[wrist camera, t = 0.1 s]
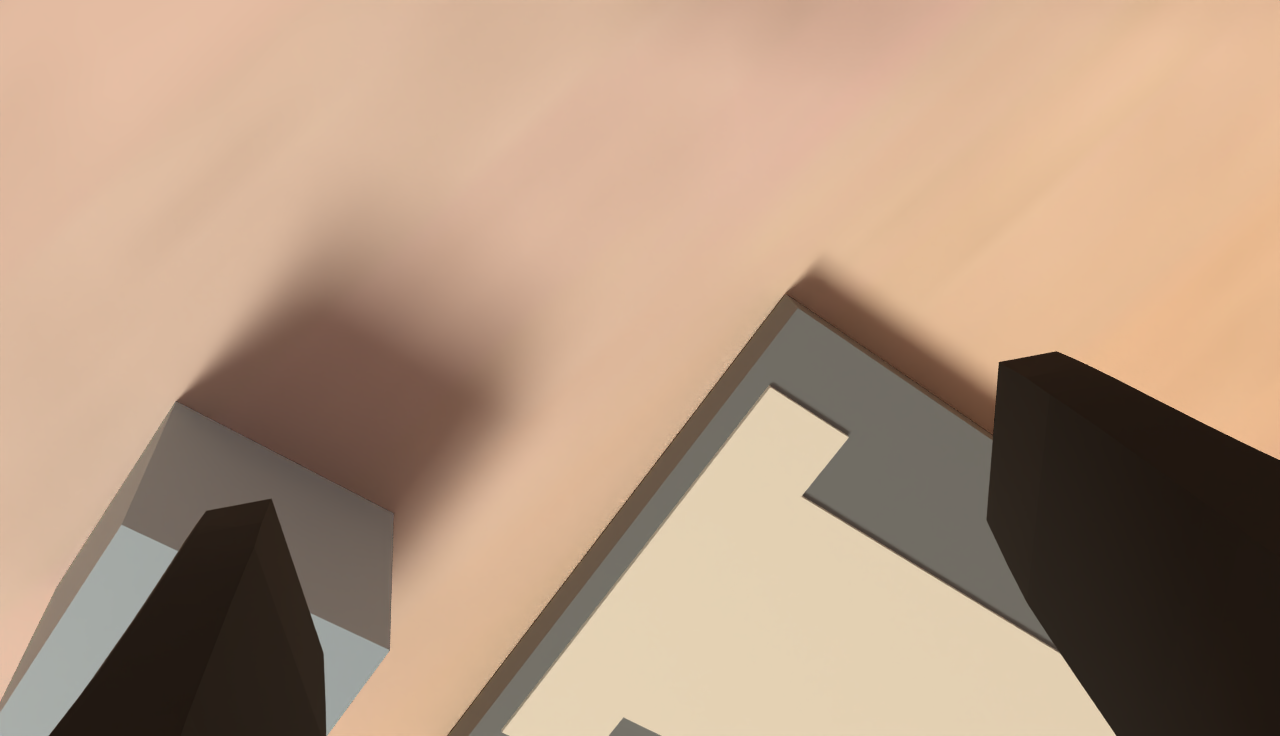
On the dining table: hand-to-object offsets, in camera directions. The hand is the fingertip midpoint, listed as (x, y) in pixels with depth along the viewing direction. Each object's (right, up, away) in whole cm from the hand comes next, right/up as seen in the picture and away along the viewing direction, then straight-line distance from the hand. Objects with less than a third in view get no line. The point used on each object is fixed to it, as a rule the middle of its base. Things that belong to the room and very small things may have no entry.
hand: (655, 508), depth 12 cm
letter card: (+5, -5, +15) cm, 16 cm away
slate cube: (-8, -2, +11) cm, 14 cm away
